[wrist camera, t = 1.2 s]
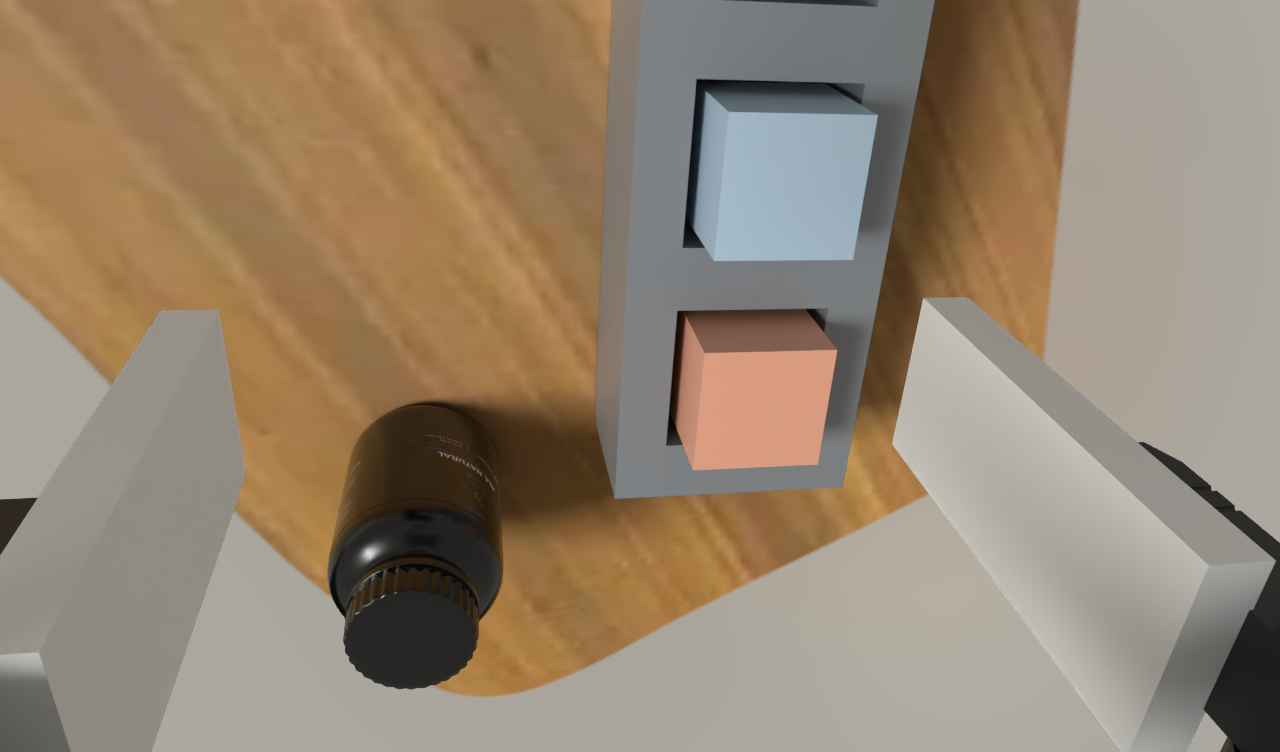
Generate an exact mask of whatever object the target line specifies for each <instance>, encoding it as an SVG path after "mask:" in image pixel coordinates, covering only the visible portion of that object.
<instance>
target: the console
mask: <svg viewBox="0 0 1280 752" xmlns="http://www.w3.org/2000/svg"><path fill="white" fill-rule="evenodd" d="M934 3H935V0H612V13H611V37H610V61H609V85H608V109H607V134H606V158H605V182H604V206H603V230H602V255H601V279H600V303H599V327H598V351H597V375H596V400H595V423H596V427H597V431H598V435H599V439H600V443H601V447H602V451H603V455H604V459H605V463H606V467H607V471H608V475H609V479H610V483H611V487H612V491H613V495H614V499H624V498H643V497H663V496H682V495H701V494H721V493H740V492H759V491H779V490H798V489H817V488H837V487H843V482H844V477H845V472H846V467H847V461H848V456H849V451H850V446H851V440H852V435H853V430H854V424H855V419H856V414H857V409H858V403H859V398H860V393H861V388H862V382H863V377H864V372H865V366H866V361H867V356H868V351H869V345H870V340H871V335H872V329H873V324H874V319H875V314H876V308H877V303H878V298H879V293H880V287H881V282H882V277H883V271H884V266H885V261H886V256H887V250H888V245H889V240H890V235H891V229H892V224H893V219H894V213H895V208H896V203H897V198H898V192H899V187H900V182H901V177H902V171H903V166H904V161H905V155H906V150H907V145H908V140H909V134H910V129H911V124H912V119H913V113H914V108H915V103H916V97H917V92H918V87H919V82H920V76H921V71H922V66H923V61H924V55H925V50H926V45H927V39H928V34H929V29H930V24H931V18H932V13H933V8H934ZM696 81H731V82H768V83H805V84H827V85H828V86H830V87H832V88H833V89H835V90H837V91H838V92H840V93H842V94H843V95H845V96H847V97H848V98H850V99H852V100H853V101H855V102H857V103H858V104H860V105H862V106H864V107H865V108H867V109H869V110H870V111H872V112H874V113H875V114H877V115H878V118H877V124H876V129H875V135H874V141H873V147H872V153H871V158H870V164H869V170H868V176H867V181H866V187H865V193H864V199H863V205H862V210H861V216H860V222H859V228H858V234H857V239H856V245H855V251H854V257H853V260H782V261H714V260H713V259H712V257H711V256H710V254H709V253H708V251H707V250H706V248H705V247H704V245H703V243H702V242H701V240H700V239H699V237H698V236H697V234H696V233H695V231H694V230H693V228H692V227H691V225H690V223H689V222H688V220H687V219H686V217H685V212H686V200H687V188H688V176H689V164H690V152H691V140H692V128H693V116H694V104H695V92H696ZM756 309H806V311H807V312H808V313H809V314H810V316H811V317H812V318H813V319H814V321H815V322H816V323H817V325H818V326H819V327H820V328H821V330H822V331H823V332H824V333H825V335H826V336H827V337H828V338H829V340H830V341H831V342H832V344H833V345H834V346H835V347H836V349H837V355H836V361H835V367H834V373H833V379H832V384H831V390H830V396H829V402H828V408H827V413H826V419H825V425H824V431H823V436H822V442H821V448H820V454H819V460H818V465H798V466H777V467H756V468H735V469H713V470H693V469H692V467H691V464H690V462H689V459H688V457H687V454H686V451H685V449H684V446H683V444H682V441H681V439H680V436H679V434H678V431H677V428H676V426H675V423H674V421H673V418H672V416H671V413H670V411H669V404H670V392H671V380H672V368H673V356H674V344H675V332H676V320H677V311H695V310H756Z"/></svg>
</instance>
